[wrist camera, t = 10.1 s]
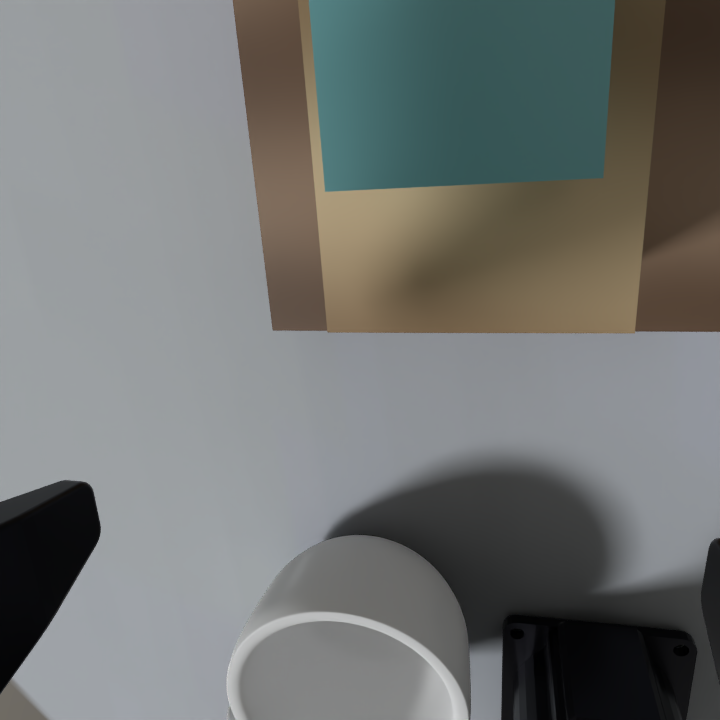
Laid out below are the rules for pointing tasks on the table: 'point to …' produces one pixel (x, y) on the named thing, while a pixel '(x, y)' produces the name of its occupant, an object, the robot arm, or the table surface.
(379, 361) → the table surface
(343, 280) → the pallet
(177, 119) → the table surface
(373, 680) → the teacup
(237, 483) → the table surface
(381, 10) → the teal square block
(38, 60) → the table surface
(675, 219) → the block
